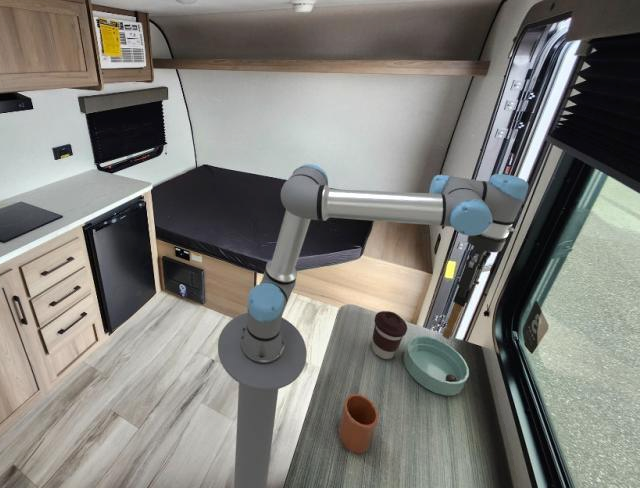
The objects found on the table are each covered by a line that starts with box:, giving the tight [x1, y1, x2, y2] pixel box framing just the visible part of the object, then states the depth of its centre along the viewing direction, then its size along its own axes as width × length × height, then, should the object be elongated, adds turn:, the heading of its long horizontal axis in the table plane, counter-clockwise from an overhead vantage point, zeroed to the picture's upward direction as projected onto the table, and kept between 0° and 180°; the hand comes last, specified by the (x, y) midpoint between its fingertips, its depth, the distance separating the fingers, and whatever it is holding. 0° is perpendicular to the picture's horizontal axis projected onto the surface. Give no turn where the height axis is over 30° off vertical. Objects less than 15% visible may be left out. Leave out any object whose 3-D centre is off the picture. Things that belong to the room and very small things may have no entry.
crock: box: [337, 393, 379, 454], centre depth 82 cm, size 8×8×11 cm
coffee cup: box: [371, 310, 408, 360], centre depth 106 cm, size 10×10×15 cm
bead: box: [446, 374, 457, 382], centre depth 98 cm, size 3×3×3 cm
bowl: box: [403, 335, 470, 397], centre depth 101 cm, size 17×17×6 cm
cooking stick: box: [442, 282, 475, 341], centre depth 92 cm, size 2×2×22 cm
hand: (460, 301), depth 90 cm, fingers closed on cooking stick, 2 cm apart
